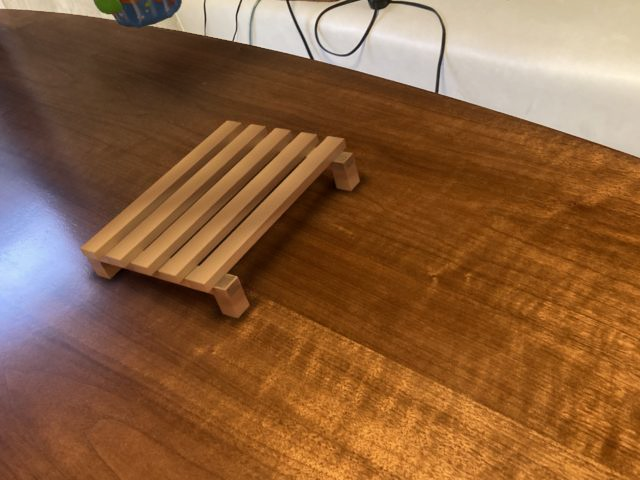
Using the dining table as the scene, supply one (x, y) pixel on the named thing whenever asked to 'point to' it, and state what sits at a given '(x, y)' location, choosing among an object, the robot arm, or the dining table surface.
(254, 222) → the rack
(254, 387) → the dining table surface
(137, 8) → the snack cup
